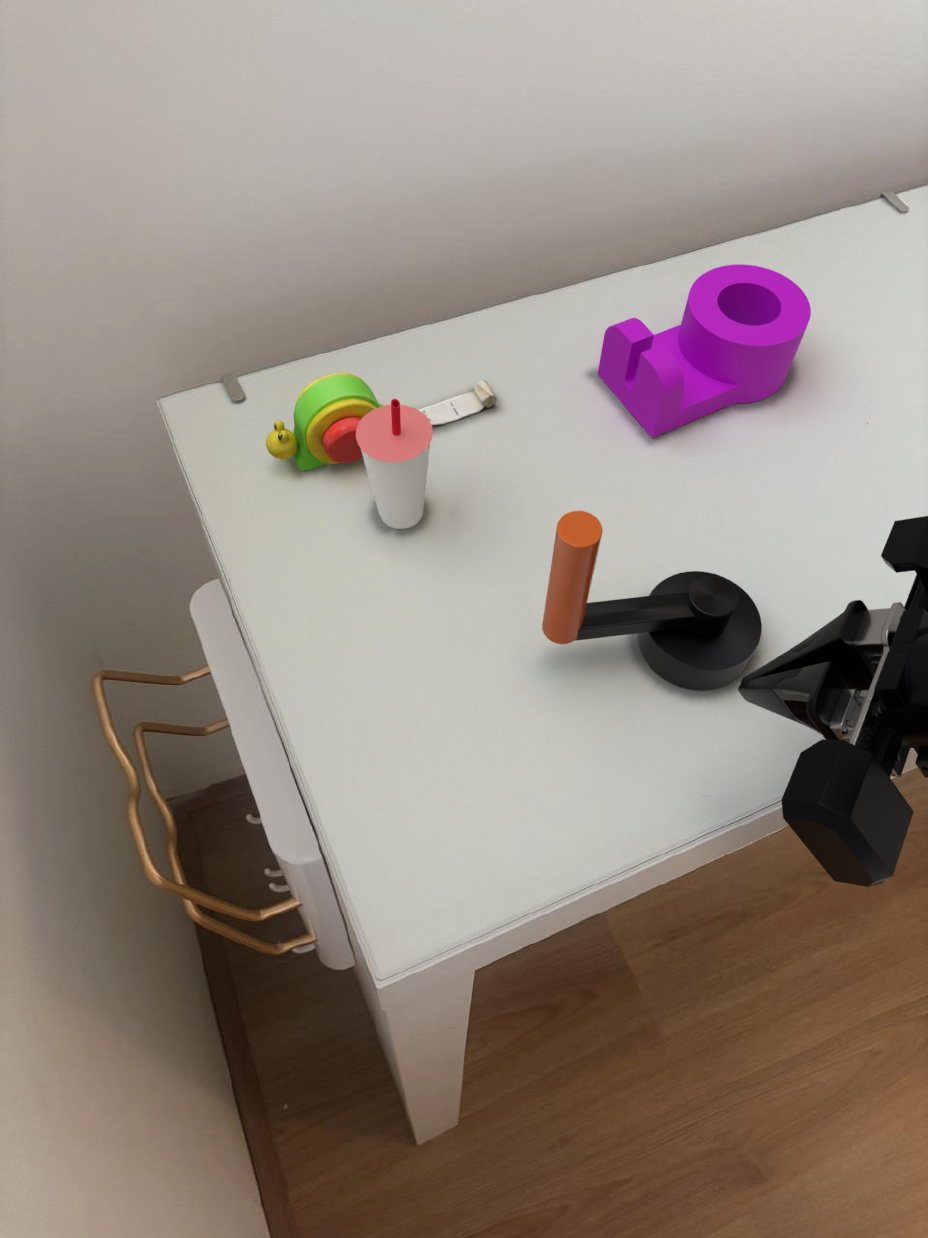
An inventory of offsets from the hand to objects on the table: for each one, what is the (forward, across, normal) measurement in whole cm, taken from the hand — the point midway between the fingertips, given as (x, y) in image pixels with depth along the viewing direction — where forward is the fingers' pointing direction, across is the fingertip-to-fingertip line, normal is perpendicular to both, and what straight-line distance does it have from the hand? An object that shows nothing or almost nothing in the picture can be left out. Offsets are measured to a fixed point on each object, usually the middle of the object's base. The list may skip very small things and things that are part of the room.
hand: (743, 690), depth 51 cm
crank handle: (+11, +6, 0) cm, 13 cm away
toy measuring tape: (+32, +15, +16) cm, 38 cm away
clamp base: (+11, +9, -5) cm, 15 cm away
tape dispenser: (+18, +34, +2) cm, 38 cm away
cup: (+28, +8, +12) cm, 32 cm away
